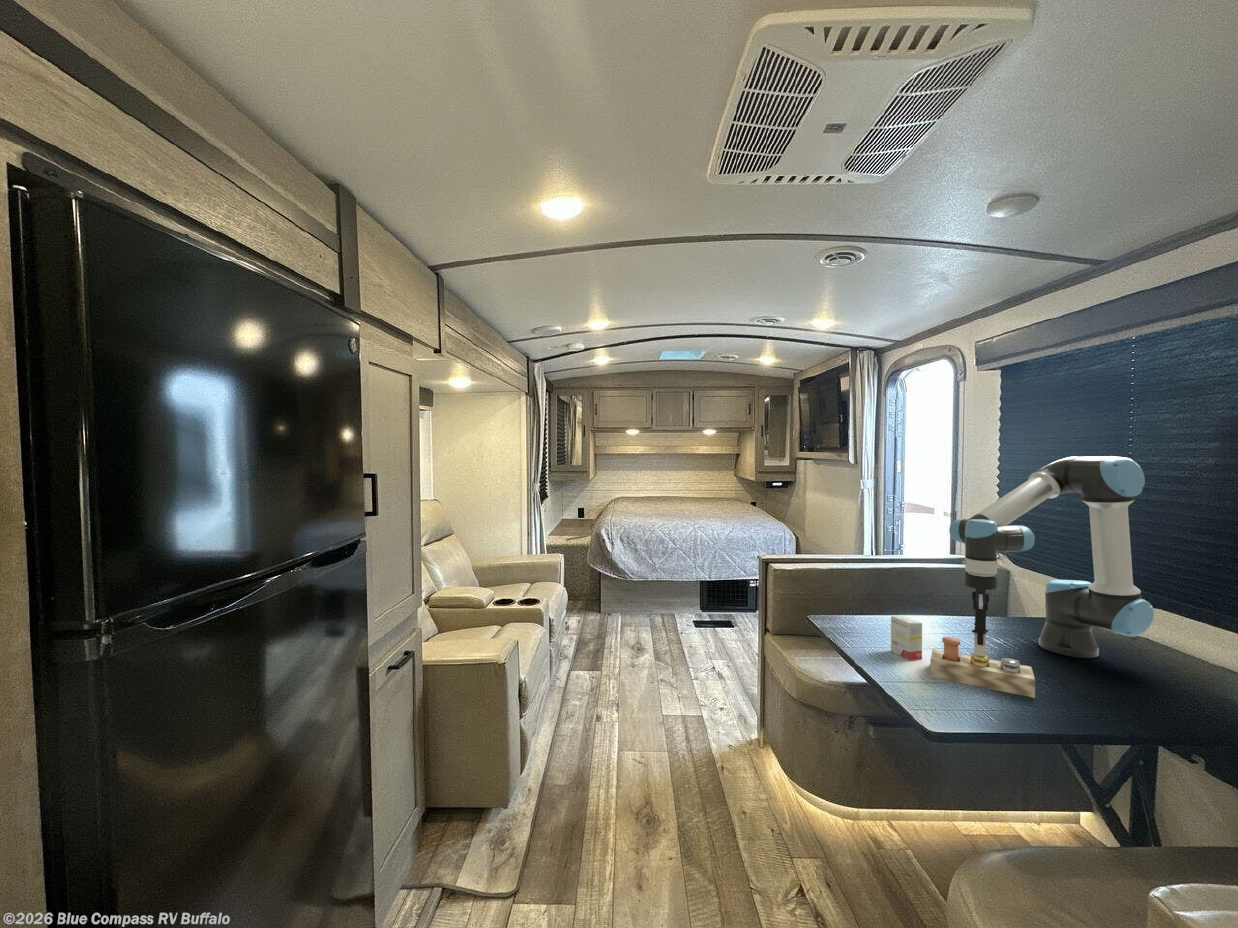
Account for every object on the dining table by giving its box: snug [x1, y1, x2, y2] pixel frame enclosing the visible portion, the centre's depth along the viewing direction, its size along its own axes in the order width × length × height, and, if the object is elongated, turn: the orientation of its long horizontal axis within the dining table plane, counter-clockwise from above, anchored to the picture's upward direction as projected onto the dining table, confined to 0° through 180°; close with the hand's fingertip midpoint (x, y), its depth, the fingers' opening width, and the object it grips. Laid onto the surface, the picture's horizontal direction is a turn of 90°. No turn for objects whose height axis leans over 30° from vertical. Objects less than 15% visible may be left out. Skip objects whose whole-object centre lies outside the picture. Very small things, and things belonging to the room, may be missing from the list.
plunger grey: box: [1000, 657, 1021, 673], centre depth 145 cm, size 4×4×6 cm
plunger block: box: [929, 649, 1036, 699], centre depth 149 cm, size 24×10×5 cm, turn 56°
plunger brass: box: [970, 652, 990, 667], centre depth 149 cm, size 4×4×6 cm
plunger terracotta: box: [941, 636, 961, 662], centre depth 153 cm, size 4×4×6 cm
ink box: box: [890, 615, 923, 661], centre depth 168 cm, size 9×5×12 cm, turn 13°
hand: (980, 654), depth 149 cm, fingers closed
